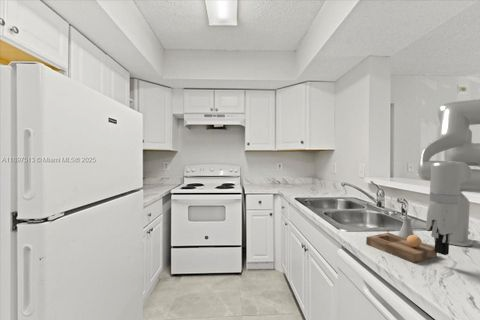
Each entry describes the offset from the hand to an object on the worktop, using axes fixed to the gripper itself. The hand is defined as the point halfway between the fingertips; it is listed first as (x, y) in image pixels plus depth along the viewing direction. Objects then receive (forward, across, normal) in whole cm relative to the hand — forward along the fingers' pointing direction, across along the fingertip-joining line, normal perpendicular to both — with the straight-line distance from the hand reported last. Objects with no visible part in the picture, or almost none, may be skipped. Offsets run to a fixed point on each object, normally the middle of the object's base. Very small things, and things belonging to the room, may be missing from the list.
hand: (441, 253), depth 79 cm
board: (+4, 0, -14) cm, 14 cm away
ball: (-1, 0, -9) cm, 9 cm away
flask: (+4, -13, -19) cm, 23 cm away
